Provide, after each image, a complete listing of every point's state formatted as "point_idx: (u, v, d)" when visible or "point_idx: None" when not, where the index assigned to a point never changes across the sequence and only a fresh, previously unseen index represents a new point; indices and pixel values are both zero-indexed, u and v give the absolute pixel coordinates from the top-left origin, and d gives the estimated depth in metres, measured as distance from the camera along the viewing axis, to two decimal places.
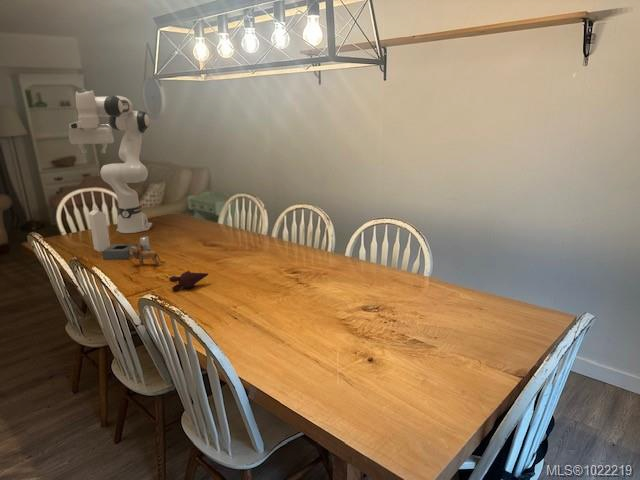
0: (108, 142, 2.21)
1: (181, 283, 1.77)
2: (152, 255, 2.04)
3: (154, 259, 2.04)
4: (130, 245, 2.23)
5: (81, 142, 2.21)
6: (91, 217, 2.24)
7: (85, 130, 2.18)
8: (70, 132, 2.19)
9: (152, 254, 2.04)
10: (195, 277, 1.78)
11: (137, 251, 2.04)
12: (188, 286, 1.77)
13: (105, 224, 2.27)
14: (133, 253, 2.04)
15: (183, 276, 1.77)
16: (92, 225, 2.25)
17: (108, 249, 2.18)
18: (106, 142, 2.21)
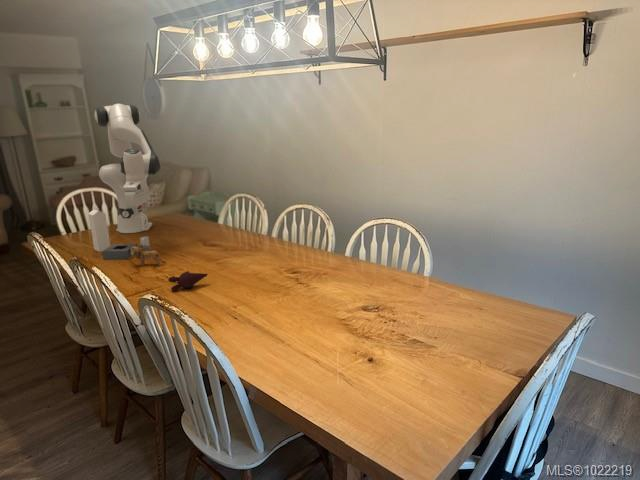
0: (149, 198, 2.25)
1: (180, 283, 1.76)
2: (153, 255, 2.04)
3: (155, 259, 2.04)
4: (130, 245, 2.23)
5: (139, 203, 2.13)
6: (91, 217, 2.24)
7: (143, 190, 2.14)
8: (135, 195, 2.07)
9: (153, 254, 2.04)
10: (194, 277, 1.78)
11: (138, 251, 2.04)
12: (187, 286, 1.77)
13: (105, 224, 2.27)
14: (134, 253, 2.03)
15: (182, 276, 1.76)
16: (92, 225, 2.25)
17: (108, 249, 2.18)
18: (149, 199, 2.24)
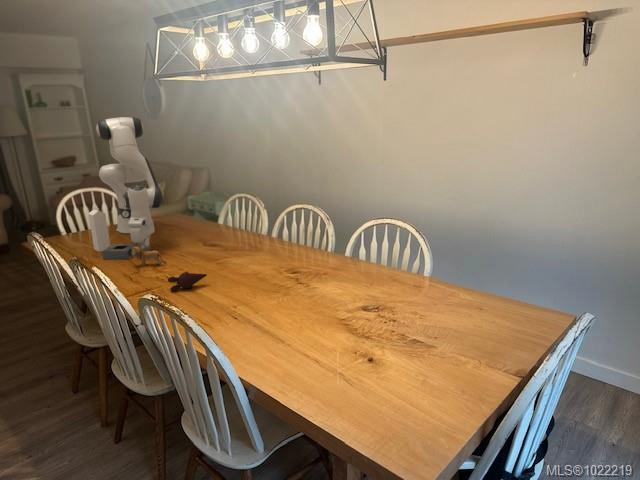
0: (153, 231, 2.30)
1: (179, 284, 1.76)
2: (155, 255, 2.04)
3: (157, 259, 2.04)
4: (130, 245, 2.23)
5: (144, 238, 2.17)
6: (91, 217, 2.24)
7: (147, 224, 2.19)
8: (140, 230, 2.12)
9: (155, 254, 2.04)
10: (194, 278, 1.78)
11: (139, 251, 2.04)
12: (186, 287, 1.77)
13: (105, 224, 2.27)
14: (135, 253, 2.03)
15: (181, 277, 1.76)
16: (92, 225, 2.25)
17: (108, 249, 2.18)
18: (153, 232, 2.29)
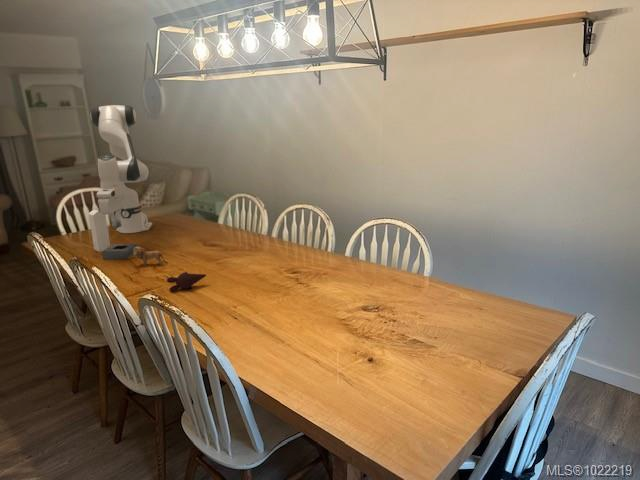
0: (125, 205, 2.23)
1: (178, 284, 1.76)
2: (156, 255, 2.04)
3: (158, 259, 2.04)
4: (130, 245, 2.23)
5: (113, 210, 2.11)
6: (91, 217, 2.24)
7: (117, 196, 2.12)
8: (109, 201, 2.05)
9: (156, 254, 2.04)
10: (193, 278, 1.77)
11: (141, 251, 2.04)
12: (185, 287, 1.76)
13: (105, 224, 2.27)
14: (137, 253, 2.03)
15: (181, 277, 1.76)
16: (92, 225, 2.25)
17: (108, 249, 2.18)
18: (124, 205, 2.22)
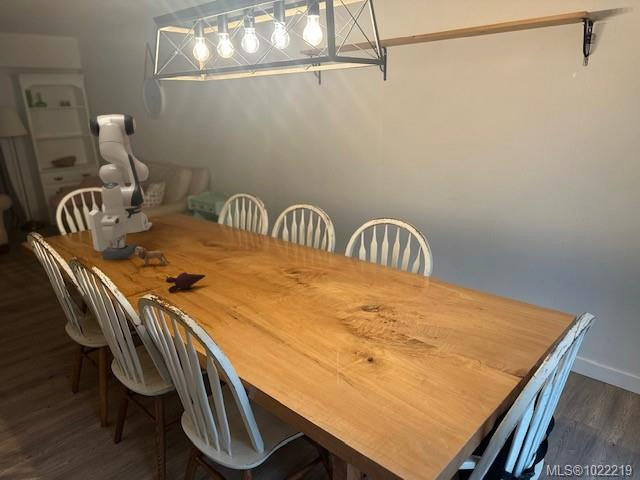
0: (129, 230, 2.27)
1: (177, 284, 1.75)
2: (158, 255, 2.04)
3: (160, 259, 2.04)
4: (130, 245, 2.23)
5: (117, 236, 2.14)
6: (91, 217, 2.24)
7: (121, 223, 2.16)
8: (113, 229, 2.09)
9: (158, 254, 2.04)
10: (192, 279, 1.77)
11: (143, 251, 2.04)
12: (184, 287, 1.76)
13: None
14: (139, 253, 2.03)
15: (179, 277, 1.75)
16: (92, 225, 2.25)
17: (108, 249, 2.18)
18: (128, 230, 2.26)
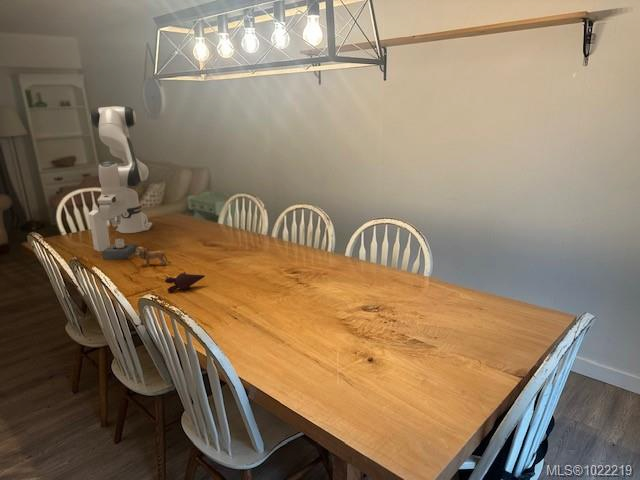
0: (126, 210, 2.24)
1: (176, 284, 1.75)
2: (159, 255, 2.04)
3: (161, 259, 2.04)
4: (130, 245, 2.23)
5: (114, 216, 2.12)
6: (91, 217, 2.24)
7: (118, 202, 2.13)
8: (110, 207, 2.06)
9: (159, 254, 2.04)
10: (191, 279, 1.77)
11: (144, 251, 2.03)
12: (183, 288, 1.76)
13: (105, 224, 2.27)
14: (140, 253, 2.03)
15: (179, 278, 1.75)
16: (92, 225, 2.25)
17: (108, 249, 2.18)
18: (125, 210, 2.23)
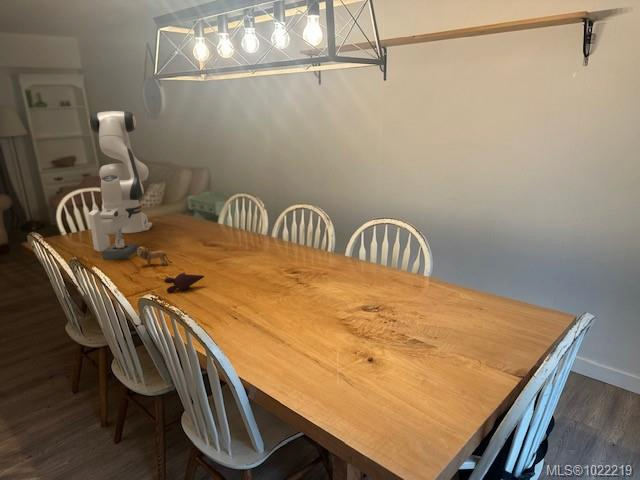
0: (128, 223, 2.26)
1: (176, 285, 1.75)
2: (161, 255, 2.04)
3: (163, 259, 2.04)
4: (130, 245, 2.23)
5: (116, 230, 2.13)
6: (91, 217, 2.24)
7: (120, 216, 2.15)
8: (112, 222, 2.08)
9: (161, 254, 2.04)
10: (190, 279, 1.76)
11: (145, 251, 2.03)
12: (182, 288, 1.75)
13: None
14: (141, 253, 2.03)
15: (178, 278, 1.75)
16: (92, 225, 2.25)
17: (108, 249, 2.18)
18: (127, 224, 2.25)
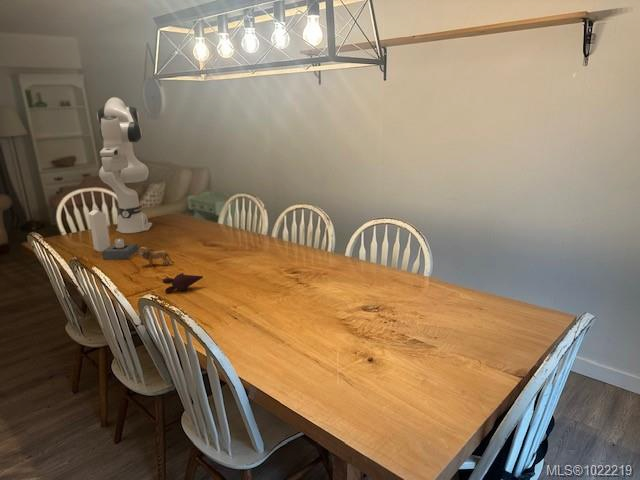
0: (127, 166, 2.31)
1: (174, 285, 1.75)
2: (163, 255, 2.04)
3: (165, 259, 2.04)
4: (130, 245, 2.23)
5: (116, 169, 2.18)
6: (91, 217, 2.24)
7: (120, 156, 2.20)
8: (112, 159, 2.13)
9: (163, 254, 2.04)
10: (189, 280, 1.76)
11: (147, 251, 2.03)
12: (181, 288, 1.75)
13: (105, 224, 2.27)
14: (143, 253, 2.03)
15: (176, 278, 1.74)
16: (92, 225, 2.25)
17: (108, 249, 2.18)
18: (127, 166, 2.30)
